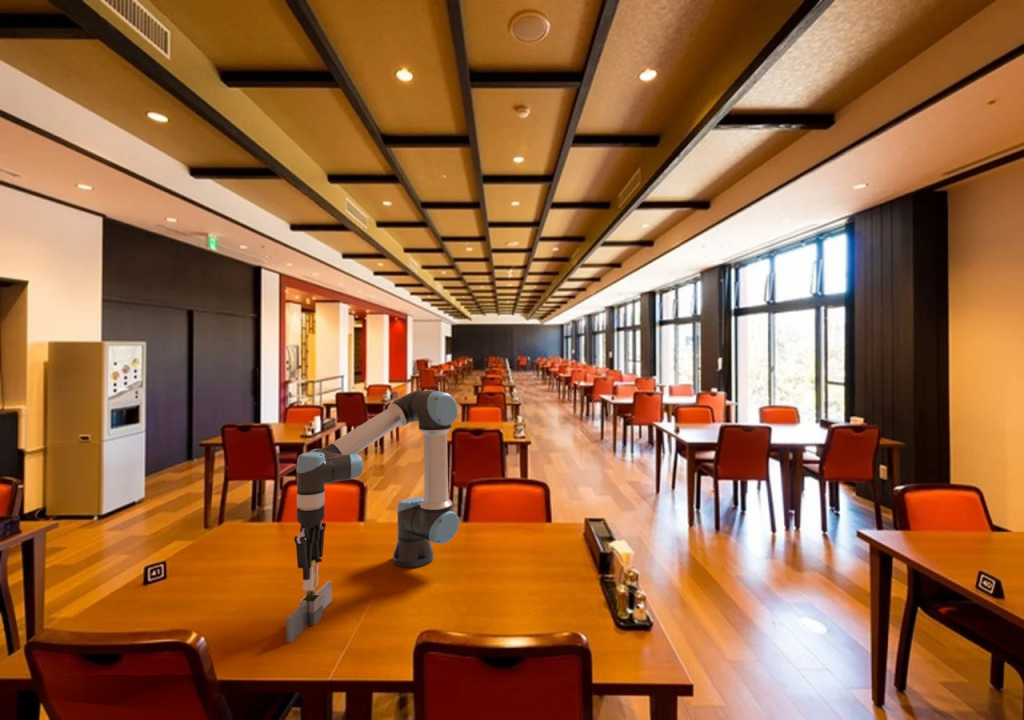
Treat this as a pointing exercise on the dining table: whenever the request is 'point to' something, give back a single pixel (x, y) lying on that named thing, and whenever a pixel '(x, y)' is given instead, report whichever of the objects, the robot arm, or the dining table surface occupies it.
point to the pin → (311, 593)
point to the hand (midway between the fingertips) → (310, 587)
